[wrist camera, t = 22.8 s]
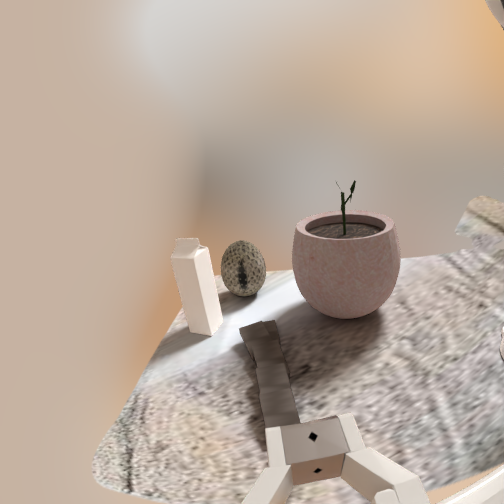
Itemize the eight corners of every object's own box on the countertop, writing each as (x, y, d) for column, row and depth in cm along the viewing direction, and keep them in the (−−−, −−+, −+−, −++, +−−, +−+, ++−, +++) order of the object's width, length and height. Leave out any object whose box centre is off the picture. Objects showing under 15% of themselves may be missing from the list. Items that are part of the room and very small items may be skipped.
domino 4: (294, 406, 44) (284, 367, 50) (294, 401, 43) (284, 362, 49) (264, 412, 43) (256, 373, 50) (263, 408, 43) (255, 368, 49)
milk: (202, 319, 73) (182, 233, 65) (224, 322, 71) (206, 233, 63) (189, 332, 68) (166, 243, 60) (212, 336, 65) (190, 243, 58)
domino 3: (289, 377, 50) (277, 344, 57) (289, 372, 49) (277, 339, 56) (262, 384, 50) (252, 350, 56) (261, 379, 49) (251, 345, 55)
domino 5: (302, 435, 38) (290, 392, 44) (303, 431, 37) (290, 387, 44) (269, 442, 38) (259, 398, 44) (268, 439, 37) (258, 394, 43)
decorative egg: (228, 286, 88) (219, 237, 83) (268, 281, 87) (261, 232, 82) (223, 306, 77) (212, 252, 72) (269, 302, 76) (262, 246, 71)
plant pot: (282, 332, 64) (265, 192, 53) (310, 281, 83) (301, 173, 73) (394, 343, 53) (404, 189, 43) (396, 286, 73) (398, 171, 63)
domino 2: (277, 352, 57) (262, 325, 63) (277, 347, 56) (261, 320, 63) (253, 361, 56) (240, 333, 62) (252, 356, 55) (239, 328, 61)
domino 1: (280, 347, 60) (275, 325, 67) (280, 341, 59) (274, 320, 67) (256, 351, 60) (253, 329, 67) (255, 345, 59) (252, 323, 67)
